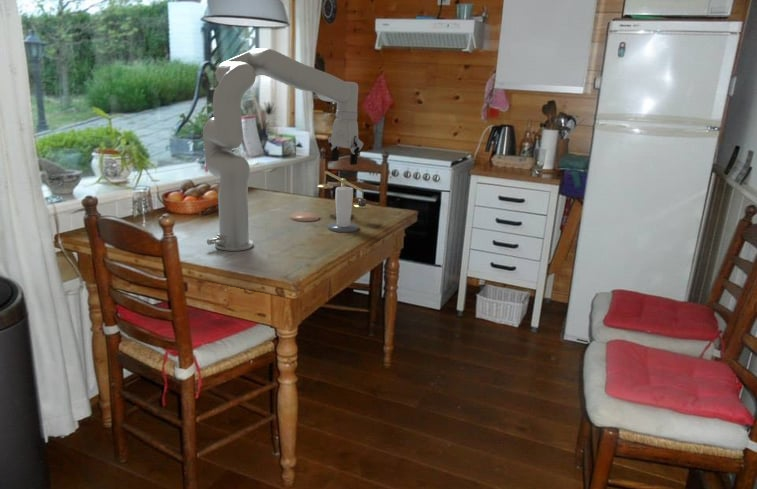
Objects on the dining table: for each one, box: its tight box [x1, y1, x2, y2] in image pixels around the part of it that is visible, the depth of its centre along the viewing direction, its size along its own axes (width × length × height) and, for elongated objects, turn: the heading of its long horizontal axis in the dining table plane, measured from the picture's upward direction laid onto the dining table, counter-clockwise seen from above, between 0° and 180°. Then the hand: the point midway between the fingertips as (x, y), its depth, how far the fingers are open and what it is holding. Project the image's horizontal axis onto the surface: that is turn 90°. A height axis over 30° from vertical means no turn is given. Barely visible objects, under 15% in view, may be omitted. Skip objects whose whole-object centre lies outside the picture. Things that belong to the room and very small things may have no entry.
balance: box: [316, 170, 371, 220], centre depth 231 cm, size 8×29×18 cm, turn 50°
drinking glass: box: [334, 186, 354, 227], centre depth 214 cm, size 7×7×15 cm
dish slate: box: [327, 221, 359, 233], centre depth 217 cm, size 12×12×1 cm
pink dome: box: [289, 211, 320, 223], centre depth 229 cm, size 12×12×1 cm
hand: (344, 162), depth 209 cm, fingers open, 9 cm apart
